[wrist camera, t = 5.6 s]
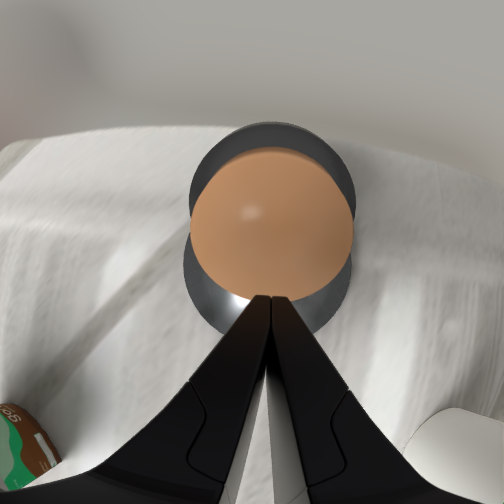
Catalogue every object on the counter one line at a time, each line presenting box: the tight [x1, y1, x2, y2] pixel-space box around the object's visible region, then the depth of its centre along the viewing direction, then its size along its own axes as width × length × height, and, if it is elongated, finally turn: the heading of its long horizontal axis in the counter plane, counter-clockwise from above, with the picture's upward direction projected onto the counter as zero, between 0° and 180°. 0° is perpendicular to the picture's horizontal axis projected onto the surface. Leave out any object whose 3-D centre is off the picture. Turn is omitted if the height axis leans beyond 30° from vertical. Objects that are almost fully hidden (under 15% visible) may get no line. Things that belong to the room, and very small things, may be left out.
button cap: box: [190, 147, 353, 301], centre depth 11 cm, size 6×6×6 cm
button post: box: [183, 122, 356, 334], centre depth 14 cm, size 10×10×8 cm
